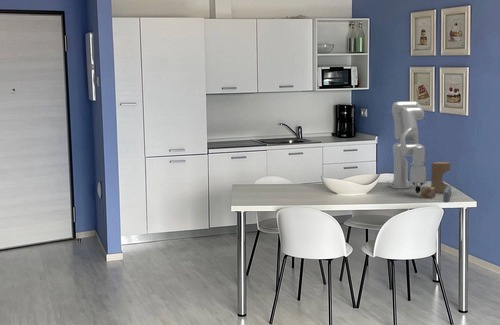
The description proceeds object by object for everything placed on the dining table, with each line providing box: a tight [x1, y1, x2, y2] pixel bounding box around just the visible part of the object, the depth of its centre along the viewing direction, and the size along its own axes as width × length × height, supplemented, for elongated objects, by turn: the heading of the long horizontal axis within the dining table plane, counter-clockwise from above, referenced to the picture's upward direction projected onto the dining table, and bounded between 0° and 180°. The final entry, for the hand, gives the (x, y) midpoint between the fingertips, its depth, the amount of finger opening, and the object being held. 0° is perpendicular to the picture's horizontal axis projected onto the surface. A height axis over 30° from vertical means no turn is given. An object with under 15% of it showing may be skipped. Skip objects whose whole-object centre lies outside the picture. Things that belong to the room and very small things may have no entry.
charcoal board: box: [442, 185, 452, 203], centre depth 445 cm, size 2×24×6 cm, turn 160°
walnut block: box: [420, 186, 436, 200], centre depth 449 cm, size 8×8×6 cm
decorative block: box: [430, 161, 451, 194], centre depth 463 cm, size 11×6×20 cm, turn 96°
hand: (417, 192), depth 451 cm, fingers closed
